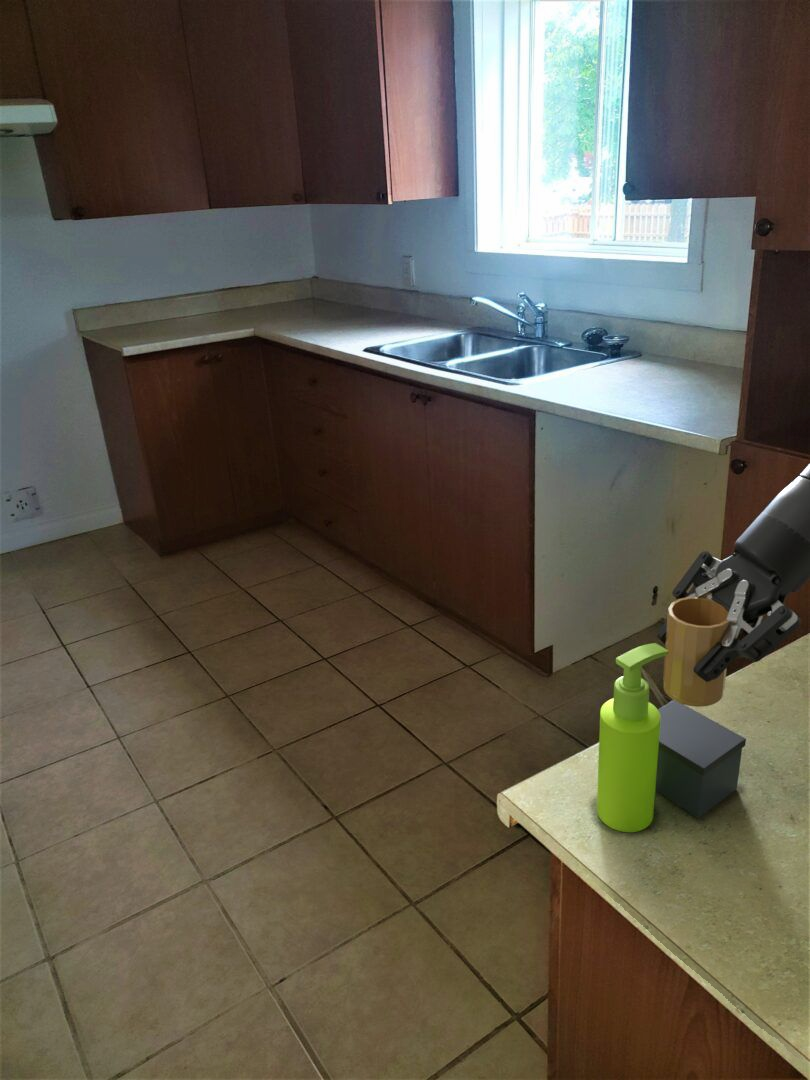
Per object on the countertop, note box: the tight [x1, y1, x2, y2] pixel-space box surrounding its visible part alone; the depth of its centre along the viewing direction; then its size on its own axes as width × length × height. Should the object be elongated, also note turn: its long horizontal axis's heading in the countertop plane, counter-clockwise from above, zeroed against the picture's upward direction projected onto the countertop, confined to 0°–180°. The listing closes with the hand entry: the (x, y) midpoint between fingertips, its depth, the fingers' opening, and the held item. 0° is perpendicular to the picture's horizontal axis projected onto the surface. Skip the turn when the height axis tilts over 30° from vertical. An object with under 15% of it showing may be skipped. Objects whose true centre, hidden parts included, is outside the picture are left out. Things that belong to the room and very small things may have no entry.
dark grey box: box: [655, 699, 747, 819], centre depth 90 cm, size 9×7×7 cm
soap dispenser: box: [596, 642, 670, 833], centre depth 84 cm, size 6×7×20 cm
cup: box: [662, 597, 729, 708], centre depth 84 cm, size 6×6×10 cm
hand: (681, 658), depth 84 cm, fingers closed on cup, 6 cm apart
